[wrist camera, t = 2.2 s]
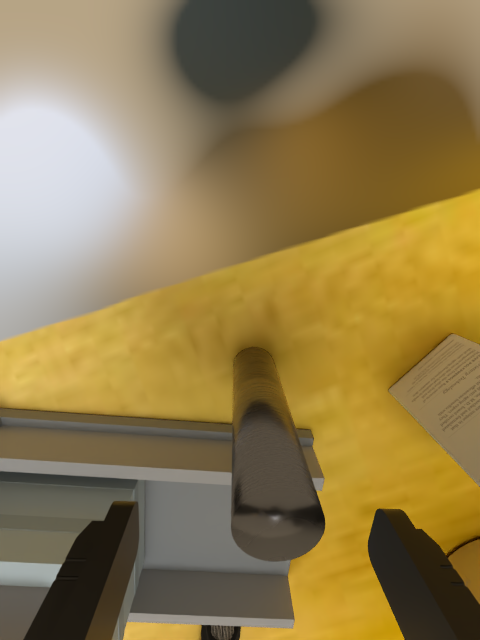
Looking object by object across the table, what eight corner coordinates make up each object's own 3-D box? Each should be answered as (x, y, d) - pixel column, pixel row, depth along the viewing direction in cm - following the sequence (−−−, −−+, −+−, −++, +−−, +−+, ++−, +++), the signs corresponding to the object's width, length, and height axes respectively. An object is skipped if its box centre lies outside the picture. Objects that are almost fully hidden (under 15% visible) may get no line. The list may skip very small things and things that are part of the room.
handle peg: (276, 348, 20) (332, 491, 9) (271, 386, 21) (316, 563, 9) (235, 345, 20) (235, 485, 8) (231, 383, 21) (226, 559, 9)
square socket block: (145, 462, 21) (76, 630, 12) (144, 560, 24) (88, 760, 15) (7, 453, 21) (-175, 621, 11) (22, 554, 23) (-116, 756, 14)
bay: (310, 429, 22) (359, 551, 13) (283, 576, 26) (307, 742, 17) (-5, 407, 21) (-175, 524, 12) (19, 564, 25) (-94, 732, 16)
